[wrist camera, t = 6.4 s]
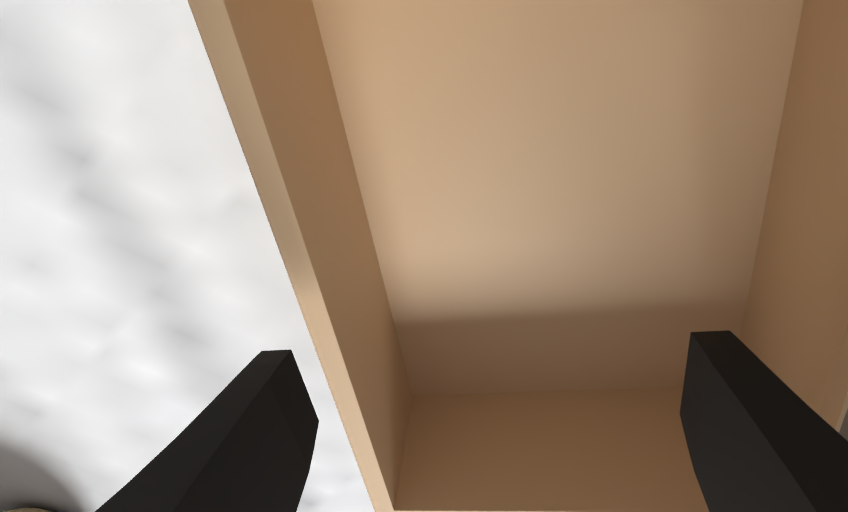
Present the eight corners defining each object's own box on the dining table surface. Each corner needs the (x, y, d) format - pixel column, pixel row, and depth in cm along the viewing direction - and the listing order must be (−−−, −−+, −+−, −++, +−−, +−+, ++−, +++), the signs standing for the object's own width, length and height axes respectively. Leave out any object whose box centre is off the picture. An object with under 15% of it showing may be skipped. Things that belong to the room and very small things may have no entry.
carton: (742, 386, 19) (810, 525, 15) (401, 397, 21) (378, 522, 17) (864, -213, 10) (1105, -273, 6) (270, -91, 13) (159, -77, 8)
